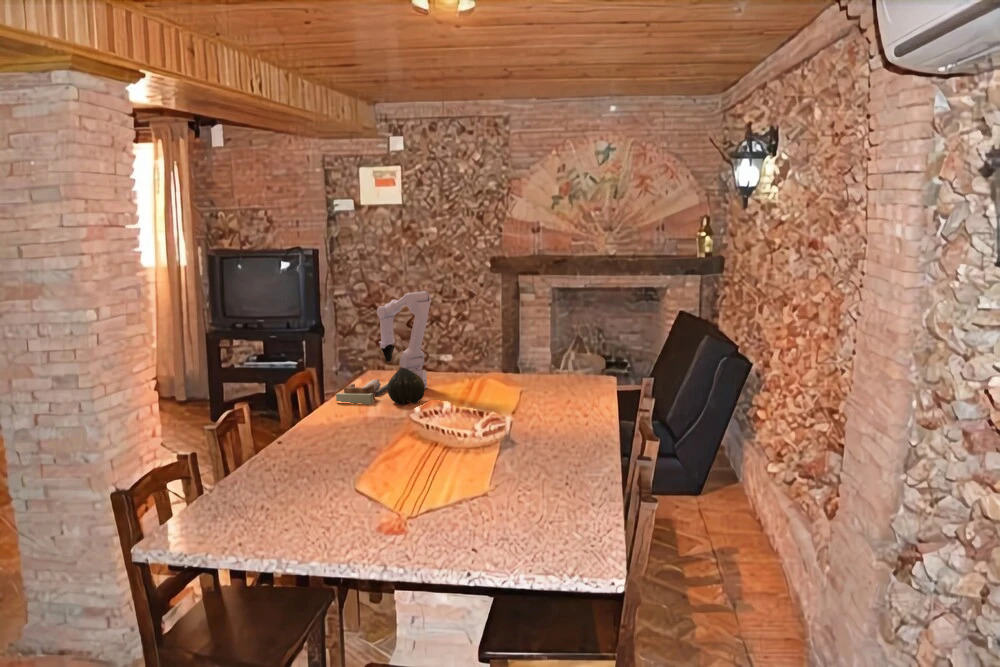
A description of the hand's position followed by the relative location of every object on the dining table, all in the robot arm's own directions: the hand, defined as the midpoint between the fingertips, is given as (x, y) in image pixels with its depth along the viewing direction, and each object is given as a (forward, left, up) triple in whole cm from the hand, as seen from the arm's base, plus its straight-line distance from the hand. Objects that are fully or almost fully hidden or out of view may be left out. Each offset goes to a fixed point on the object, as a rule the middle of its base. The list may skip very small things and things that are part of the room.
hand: (388, 361), depth 351 cm
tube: (+2, +22, -11) cm, 25 cm away
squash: (-20, +34, -11) cm, 41 cm away
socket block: (+1, +33, -10) cm, 35 cm away
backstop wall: (+1, +38, -10) cm, 40 cm away
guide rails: (+1, +13, -10) cm, 16 cm away
